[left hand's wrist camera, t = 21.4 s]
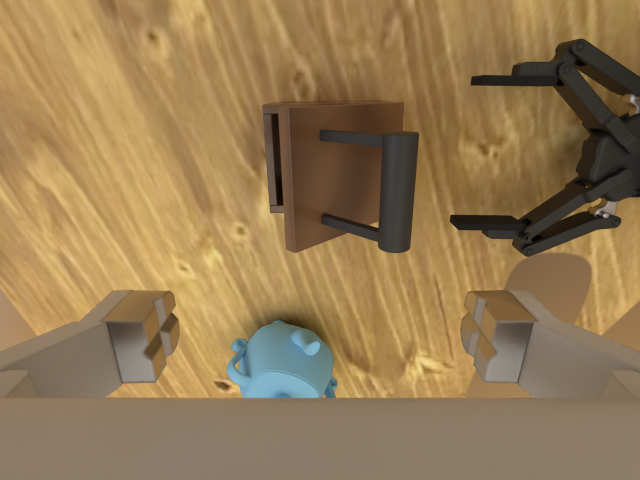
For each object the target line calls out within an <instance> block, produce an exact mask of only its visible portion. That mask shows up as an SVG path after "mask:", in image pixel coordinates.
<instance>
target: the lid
mask: <svg viewBox="0 0 640 480" xmlns="http://www.w3.org/2000/svg"><path fill="white" fill-rule="evenodd" d="M403 110H404V102H390V103H369V104H347V105H325V106H303V107H282V108H278V117H279V134H280V152H281V169H282V187H283V204H284V222H285V239H286V249H287V250H289V251H292V252H294V253H297V252H299V251H302V250H305V249H307V248H310V247H312V246H315V245H318V244H320V243H323V242H325V241H328V240H331V239H333V238H336V237H338V236H341V235H344V234H346V233H351V234H354V235H358V236H361V237H364V238H367V239H370V240H373V241H376V242H378V247H379V249H381V250H383V251H386V252H390V253H402V252H406V251H408V250H409V249H410V243H411V230H412V217H413V204H414V192H415V179H416V166H417V153H418V141H419V133H417V132H408V131H402V126H403ZM377 221H379V228H376V227H372V226H369V225H370V224H372V223H375V222H377Z"/></svg>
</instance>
